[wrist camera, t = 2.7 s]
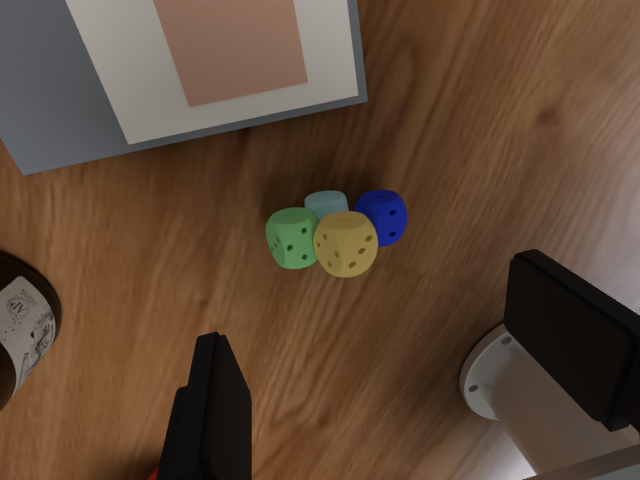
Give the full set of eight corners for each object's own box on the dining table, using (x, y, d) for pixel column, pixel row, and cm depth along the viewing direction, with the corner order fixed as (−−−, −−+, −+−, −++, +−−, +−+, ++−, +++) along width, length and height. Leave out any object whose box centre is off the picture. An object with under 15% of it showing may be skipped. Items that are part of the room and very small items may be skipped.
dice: (389, 181, 21) (435, 220, 16) (389, 219, 23) (432, 268, 17) (262, 199, 21) (262, 247, 15) (269, 237, 22) (271, 295, 16)
